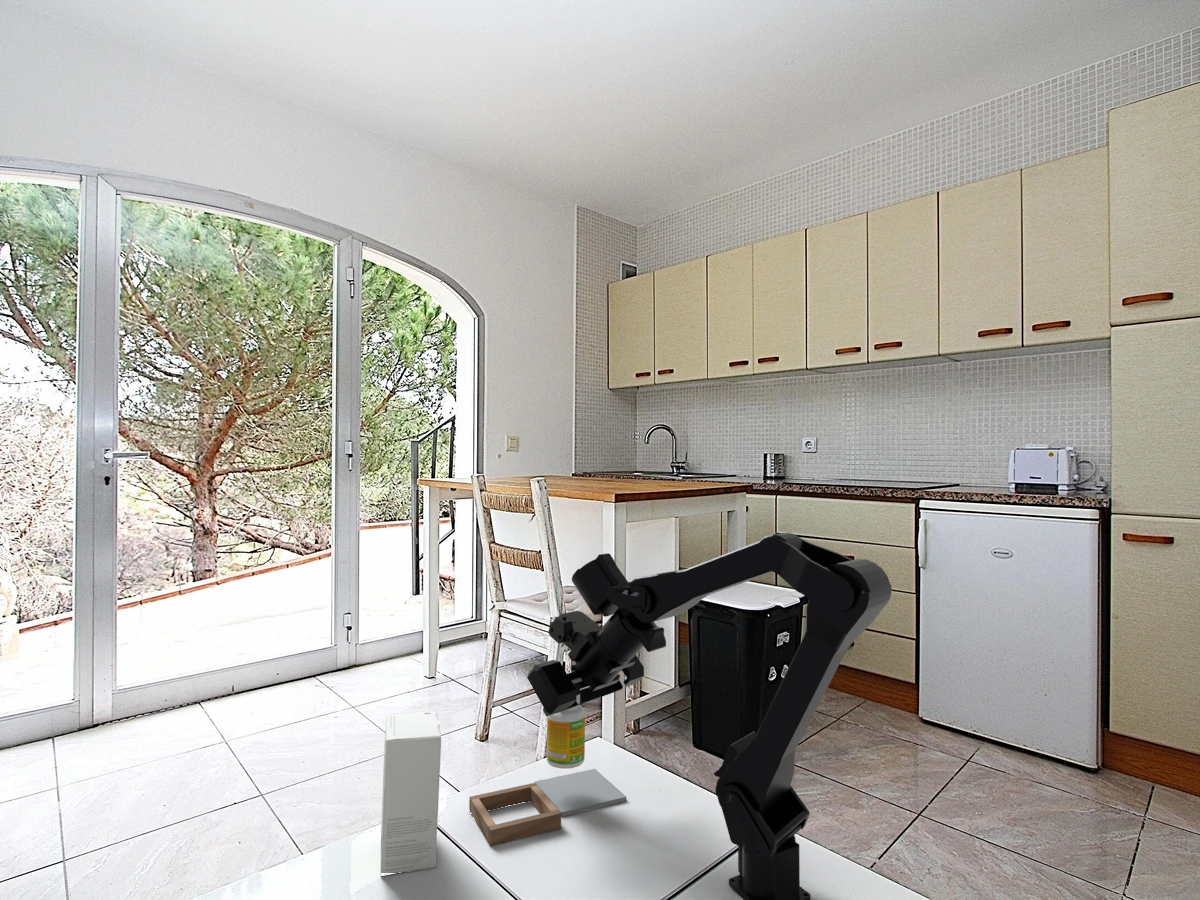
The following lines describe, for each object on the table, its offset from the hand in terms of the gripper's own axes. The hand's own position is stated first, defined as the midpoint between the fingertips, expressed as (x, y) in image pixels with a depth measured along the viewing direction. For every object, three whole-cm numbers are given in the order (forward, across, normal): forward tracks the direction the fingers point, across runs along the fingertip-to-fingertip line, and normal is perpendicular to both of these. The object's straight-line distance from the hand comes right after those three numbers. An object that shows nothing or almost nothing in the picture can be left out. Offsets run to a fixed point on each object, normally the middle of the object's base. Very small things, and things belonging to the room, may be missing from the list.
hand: (559, 708), depth 95 cm
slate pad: (+8, -2, +10) cm, 13 cm away
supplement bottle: (+4, 0, +6) cm, 8 cm away
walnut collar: (+8, +9, +9) cm, 15 cm away
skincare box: (+11, +23, +7) cm, 26 cm away
